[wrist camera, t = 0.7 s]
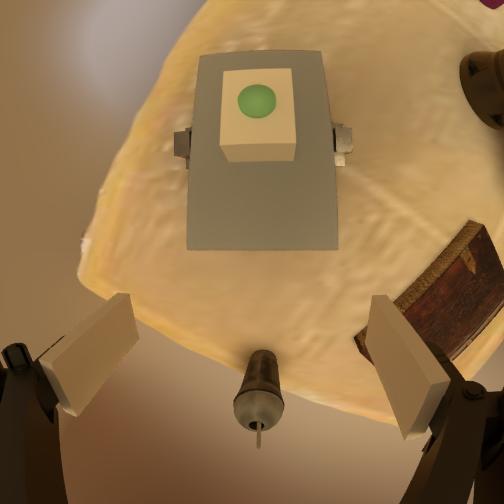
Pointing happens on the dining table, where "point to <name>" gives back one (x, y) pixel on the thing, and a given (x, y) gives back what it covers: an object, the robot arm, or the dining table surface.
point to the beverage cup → (260, 395)
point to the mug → (493, 3)
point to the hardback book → (454, 294)
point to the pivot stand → (340, 143)
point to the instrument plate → (263, 184)
